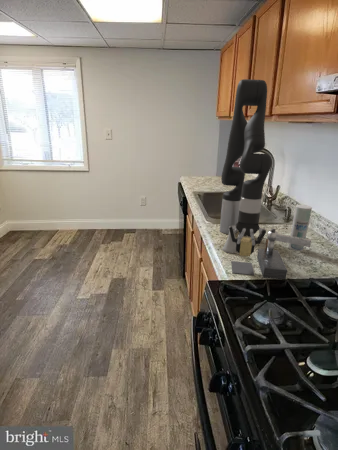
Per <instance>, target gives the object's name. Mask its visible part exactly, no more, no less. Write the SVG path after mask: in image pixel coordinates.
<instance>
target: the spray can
mask: <svg viewBox="0 0 338 450" xmlns="http://www.w3.org/2000/svg"><path fill="white" fill-rule="evenodd" d="M312 208H313V207H312V206H310V205H307V204H296V205H295V208H294V214H293V219H292V225H291V232H290V236H294V237H300V238H305V239H307V238H306V237H307V233H308V227H309V223H310V219H311V213H312ZM304 247H305V246H301V245H295V244H290V243H288V249H289V250H291V251H294V252H303V250H304V249H305V248H304Z"/></svg>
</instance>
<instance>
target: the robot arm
mask: <svg viewBox="0 0 338 450" xmlns="http://www.w3.org/2000/svg"><path fill="white" fill-rule="evenodd" d="M267 99H268V86H267V81H265V80H263V79H252V78H251V79H247V78H246V79H245V78H244V79H240V81H238V84H237V87H236V92H235V99H234V108H233V117H232V122H231V127H230V132H229V136H228V142H227V149H226V155H225V159H224V160H225V161H224V164H223V168H222V171H221V179H220V180H221V184H222V185H223V186H229V187H231V186H232V187H234V188H232V189H231V190H228V191H227V190H226V191H224V192H223V194H222V200H221V201H222V202H221V211H220V222H219V223H220V224H219V232H220V233H223V234H227V235H229V230H230V234H231V238H232V242H235V243H236V251H237V252H236V253H237V254H239V251H240V242H241V239H242V238H243V237H248V238H251V241H252V248H251V255H253V254H254V252H255V247H256V245H260V244H261V243H262V241H263V240H264V237H265V235H266V233H267V230H266V228H265V227H263V228H262V227H260V224H259V223H260V217H261V211H262V196H263V190H264V185H265V183H266V179H267V177H268V175H269V173H270V171H271V169H272V165H273V161H272V160H273V159H272V156H271V155H269V154H268V153H259V152H262V151H263V150H264V149H265V148H266V147H265V146H266V136H265V120H266V112H267ZM244 106H245V107H249V106H251V107H256V110H255V112H254V114H252V116H251V117H250V119H249V120H248V121H247V119H246V116H245V114H244V109H243V108H244ZM240 158H241V159H240ZM239 159H240V162H239V166H234V165H235V163H236V162H237V161H238V160H239ZM247 174H249V175H257V176H256V177H255V178H254V179H247V180H245V178H246V177H245V176H246V175H247ZM235 229H236V231H235ZM234 231H235V234H237V233H238V235H237V237H236V235H235V236H234ZM257 232H258V233H259V234H258V236H257V238H256V239H255V235H256V233H257Z"/></svg>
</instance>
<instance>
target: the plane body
mask: <svg viewBox="0 0 338 450" xmlns="http://www.w3.org/2000/svg"><path fill="white" fill-rule="evenodd" d="M275 242H276V241H271V240H268V239H267V238H265V244H264V248H258V249H257V254H256V258H257V262H258V265H259V268H260V273H261V276H262V278H263V279H270V280H271V279H272V280H280V281H281V280H282V279H287V275H288V268H287V267H286V264H285V263H284V262H285V261H284V260H283V258H282V256H281V254H280V252H279V250H278V249H277V250H276V249H274V248H275Z"/></svg>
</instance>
